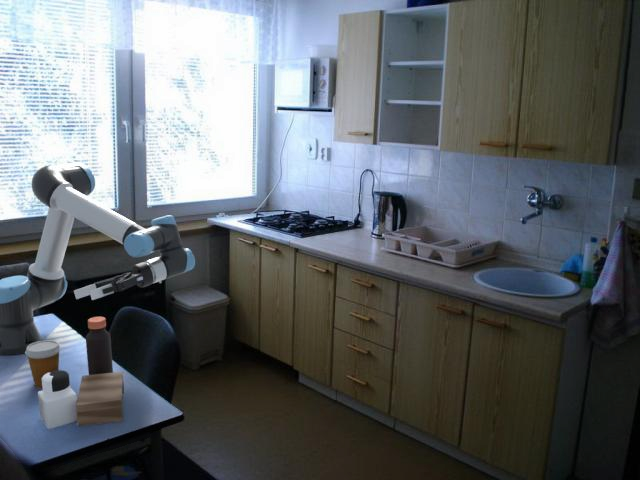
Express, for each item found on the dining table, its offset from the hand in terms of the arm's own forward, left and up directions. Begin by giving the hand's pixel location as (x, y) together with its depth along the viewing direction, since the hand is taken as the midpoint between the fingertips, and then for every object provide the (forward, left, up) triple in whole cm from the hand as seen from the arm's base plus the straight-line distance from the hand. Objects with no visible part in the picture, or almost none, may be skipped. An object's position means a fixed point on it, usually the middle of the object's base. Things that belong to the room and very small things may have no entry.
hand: (82, 295), depth 182 cm
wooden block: (+20, +5, -26) cm, 34 cm away
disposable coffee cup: (0, -12, -26) cm, 29 cm away
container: (+24, -6, -26) cm, 36 cm away
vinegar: (+4, +4, -26) cm, 27 cm away
